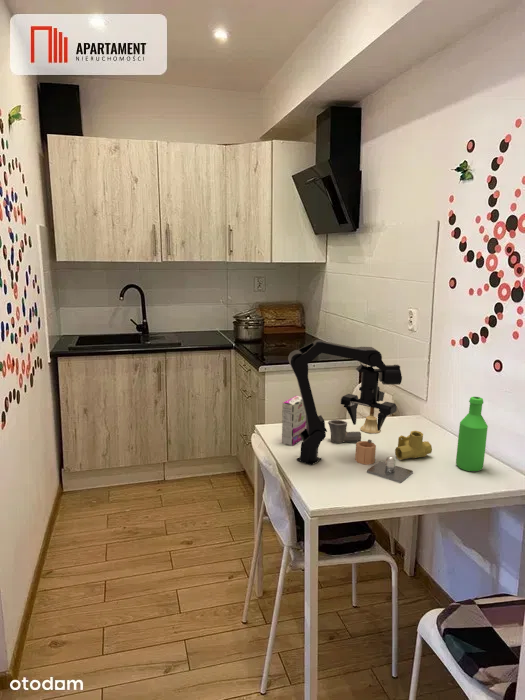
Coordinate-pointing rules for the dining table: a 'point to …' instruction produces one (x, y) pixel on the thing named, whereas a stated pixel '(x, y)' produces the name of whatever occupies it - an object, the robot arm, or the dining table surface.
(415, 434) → the ball valve
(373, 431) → the hand bell
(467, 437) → the bottle
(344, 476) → the dining table surface
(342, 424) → the pipe
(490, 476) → the dining table surface
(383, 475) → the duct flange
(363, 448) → the collar
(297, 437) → the candy bar box
